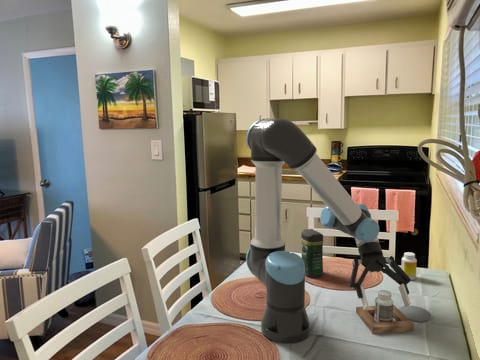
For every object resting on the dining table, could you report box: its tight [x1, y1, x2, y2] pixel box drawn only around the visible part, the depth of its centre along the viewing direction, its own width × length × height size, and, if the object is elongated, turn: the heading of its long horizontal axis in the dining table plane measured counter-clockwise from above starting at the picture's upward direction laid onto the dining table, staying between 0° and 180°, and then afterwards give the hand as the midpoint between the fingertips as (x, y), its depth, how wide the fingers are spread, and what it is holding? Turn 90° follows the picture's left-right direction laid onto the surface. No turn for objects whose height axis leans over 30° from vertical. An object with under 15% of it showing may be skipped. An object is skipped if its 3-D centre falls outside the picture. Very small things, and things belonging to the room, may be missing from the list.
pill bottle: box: [374, 289, 394, 323], centre depth 122 cm, size 5×5×10 cm
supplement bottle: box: [400, 251, 418, 281], centre depth 155 cm, size 6×6×10 cm
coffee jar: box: [300, 228, 324, 278], centre depth 161 cm, size 10×8×19 cm
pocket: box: [355, 304, 415, 334], centre depth 123 cm, size 13×13×2 cm
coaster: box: [398, 305, 432, 323], centre depth 127 cm, size 10×10×1 cm
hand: (387, 306), depth 121 cm, fingers open, 13 cm apart
